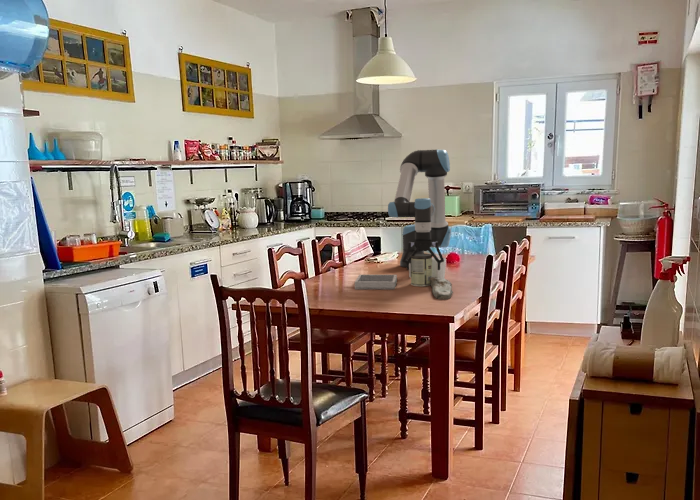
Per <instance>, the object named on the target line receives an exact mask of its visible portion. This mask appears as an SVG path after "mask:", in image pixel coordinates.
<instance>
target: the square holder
mask: <svg viewBox="0 0 700 500" xmlns="http://www.w3.org/2000/svg"><path fill="white" fill-rule="evenodd" d="M397 277H398V275H397V274H358V276H357V278H356V279H355V281H354V290H381V291H382V290H387V291H388V290H389V291H390V290H392V291H394V290H395V289H396V287H397V282H398V278H397Z"/></svg>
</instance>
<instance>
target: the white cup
mask: <svg viewBox="0 0 700 500" xmlns="http://www.w3.org/2000/svg"><path fill="white" fill-rule="evenodd" d="M437 258H438V259H439V260H441V259H440V257H437ZM443 259H444V262H441V263H440V270H438V278H443V279H446V278H445V277H446V276H445V275H446V262H447V261H446V258H445V257H443ZM436 263H437V261H436V260H435V259H434V257H432V277H436Z"/></svg>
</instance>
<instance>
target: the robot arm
mask: <svg viewBox="0 0 700 500" xmlns="http://www.w3.org/2000/svg"><path fill="white" fill-rule="evenodd" d="M450 165H451V163H450V157H449V153H448V151H447V150H446V149H439V148H438V149H422V150H421V149H417V150H414V151H412V152H410V153H409V154H408V155H406V157H405V158H404V159H403V160H402V161H401V164H400V167H399V172H400V176H399V180H398V183H397V184H398V185H397V188H396V192H395V196H394V201H390V202H389V203H388V205H387V213H388V216H389V217H390V218H414V224H409V225H405V226H404V227H403V228H402V255H401V257H400V260H399V261H400V262H399V266H400V267H402V268H406V271H408V277H409V278H411V256H414V255H415V254H425V252H429V254H431V255H432V258H434V259H435V260H436V261H437V263H436V277H438V270H440V263H441V262H444V259H443V258H444V257H443V254H442V252H441V251H440V249H441V248H447V247H449V246H450V242H451V237H452V227H451V226H449V222H448V221H447V220H446V200H445V199H446V196H445V193H446V191H445V190H446V189H445V188H446V187H445V178H446V177H447V176H448V172H450V170H451V166H450ZM418 173H424V176H425V178H426V179H427V180H428V181H427V183H428V198H426V197H423V198H422V197H420V198H415V199H414V201H411V197H412V193H413V188H414V183H415V178H416V176H417V175H418ZM431 248H435V250H436V252H437V254H438V256H439V257H440V259H441V260H439V259H438V258H437V255H436V254H435V253H434V251H433V250H432V249H431ZM410 255H411V256H410Z"/></svg>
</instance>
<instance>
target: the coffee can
mask: <svg viewBox="0 0 700 500" xmlns="http://www.w3.org/2000/svg"><path fill="white" fill-rule="evenodd" d="M410 256H411V255H410ZM432 258H433V256H432V255H431V253H424V254H415V255H414V256H411V277H410V285H411V286H414V287H429V286H431V281H430V278H432Z"/></svg>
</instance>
